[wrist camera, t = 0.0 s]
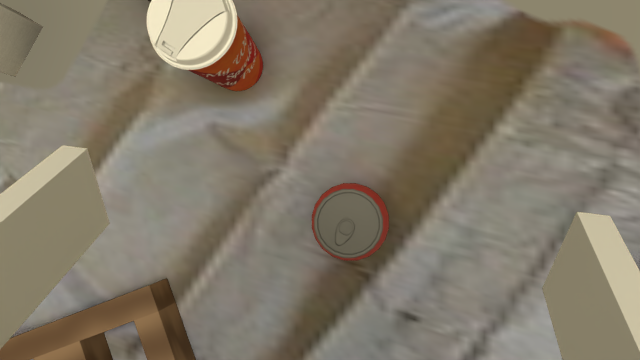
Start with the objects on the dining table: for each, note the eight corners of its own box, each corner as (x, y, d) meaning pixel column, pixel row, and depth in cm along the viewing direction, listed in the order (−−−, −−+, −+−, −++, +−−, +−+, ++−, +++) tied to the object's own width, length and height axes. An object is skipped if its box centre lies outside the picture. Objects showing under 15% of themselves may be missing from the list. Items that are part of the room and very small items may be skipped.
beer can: (314, 230, 49) (293, 241, 37) (341, 174, 49) (329, 168, 37) (370, 258, 48) (367, 279, 36) (397, 202, 48) (404, 204, 36)
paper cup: (247, 114, 50) (198, 83, 36) (192, 77, 51) (123, 33, 37) (286, 53, 50) (251, -1, 36) (230, 17, 51) (174, -49, 37)
